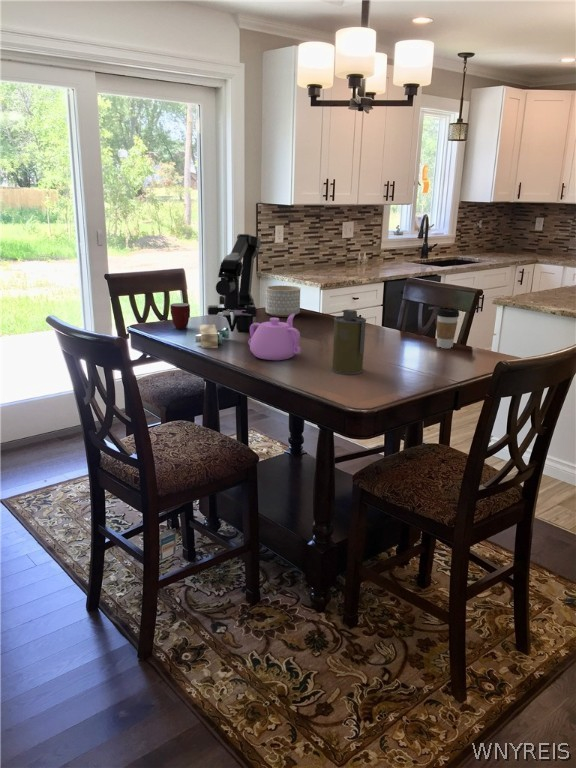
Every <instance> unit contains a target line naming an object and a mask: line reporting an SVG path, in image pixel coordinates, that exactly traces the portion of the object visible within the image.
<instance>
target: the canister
mask: <svg viewBox="0 0 576 768" xmlns="http://www.w3.org/2000/svg"><path fill="white" fill-rule="evenodd" d="M333 321H334V322H333V342H332V343H333V346H332V347H333V348H332V365H331V371H332V372H333V373H336V374H338V375H339V374H341V375H349V376H351V375H352V376H353V375H359V374H362V373H363V371H364V369H363V368H364V366H363V365H364V354H365V340H366V338H365V336H366V322H367V319H366V318H365V317H362V316H358V311H357V310H355V309H348V308H347V309H343V310H342V315H338V316H334V318H333Z"/></svg>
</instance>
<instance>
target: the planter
mask: <svg viewBox="0 0 576 768" xmlns="http://www.w3.org/2000/svg"><path fill="white" fill-rule="evenodd" d="M300 309H301V287H299V286H295V285H282V284H281V285H269V286H266V287H265V313H267V314H268V315H269V316H271V317H275V318H288V317H289V316H290V315H291V314H295V315H294V317H295V316H297V315H298V314H300V312H301V311H300Z"/></svg>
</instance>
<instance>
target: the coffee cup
mask: <svg viewBox="0 0 576 768" xmlns="http://www.w3.org/2000/svg"><path fill="white" fill-rule="evenodd" d="M436 316H437V320H436V347H437V348H439V347H441V348H440V349H452V348H453V345H454V341H455V340H454V339H455V335H456V332H457V331H456V330H457V326H458V318H459V316H460V310H459V309H457V308H453V307H447V306H438V308H437V312H436ZM451 347H452V348H451Z"/></svg>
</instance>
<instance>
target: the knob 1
mask: <svg viewBox="0 0 576 768" xmlns="http://www.w3.org/2000/svg"><path fill="white" fill-rule="evenodd" d="M217 334H218V344H219V345H220V344H221V345H222V344H223V339H224V338H223V337H222V333H217ZM194 336H195V337H194V338H195V341H194V342H195V343H198V344H199V343H201V335H200V334H194Z"/></svg>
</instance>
